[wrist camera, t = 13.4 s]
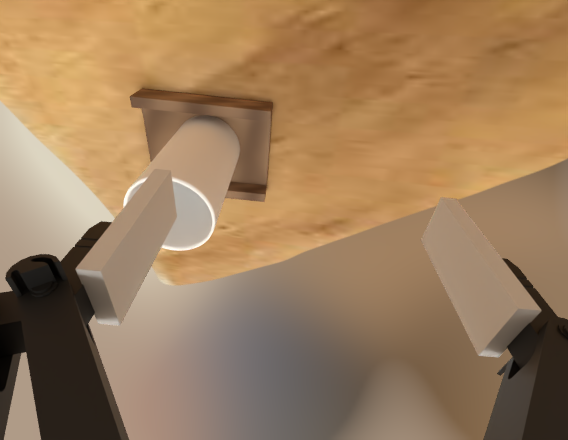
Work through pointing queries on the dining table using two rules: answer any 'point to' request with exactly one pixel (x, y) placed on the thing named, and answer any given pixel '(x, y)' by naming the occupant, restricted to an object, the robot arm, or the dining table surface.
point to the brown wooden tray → (235, 112)
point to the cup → (195, 177)
